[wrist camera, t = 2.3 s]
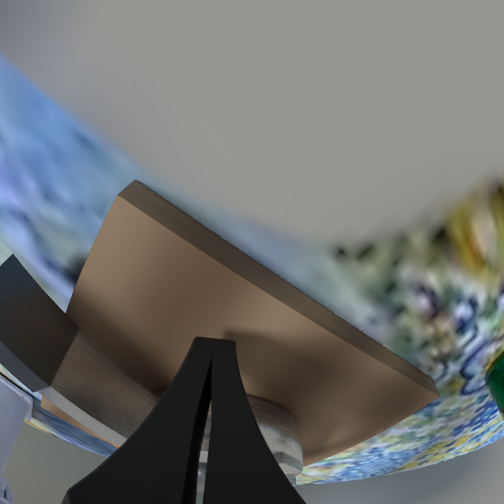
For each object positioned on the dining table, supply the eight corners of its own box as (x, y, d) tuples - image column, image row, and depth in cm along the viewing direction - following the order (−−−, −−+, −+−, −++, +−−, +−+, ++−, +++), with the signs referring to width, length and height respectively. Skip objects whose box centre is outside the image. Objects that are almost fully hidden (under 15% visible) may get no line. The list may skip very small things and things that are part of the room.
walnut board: (46, 392, 17) (39, 408, 16) (135, 179, 9) (114, 197, 8) (246, 472, 23) (245, 486, 22) (432, 378, 15) (440, 398, 14)
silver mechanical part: (324, 440, 16) (331, 487, 13) (201, 465, 18) (198, 503, 15) (72, 185, 8) (-2, 241, 5) (-17, 301, 10) (-51, 345, 7)
